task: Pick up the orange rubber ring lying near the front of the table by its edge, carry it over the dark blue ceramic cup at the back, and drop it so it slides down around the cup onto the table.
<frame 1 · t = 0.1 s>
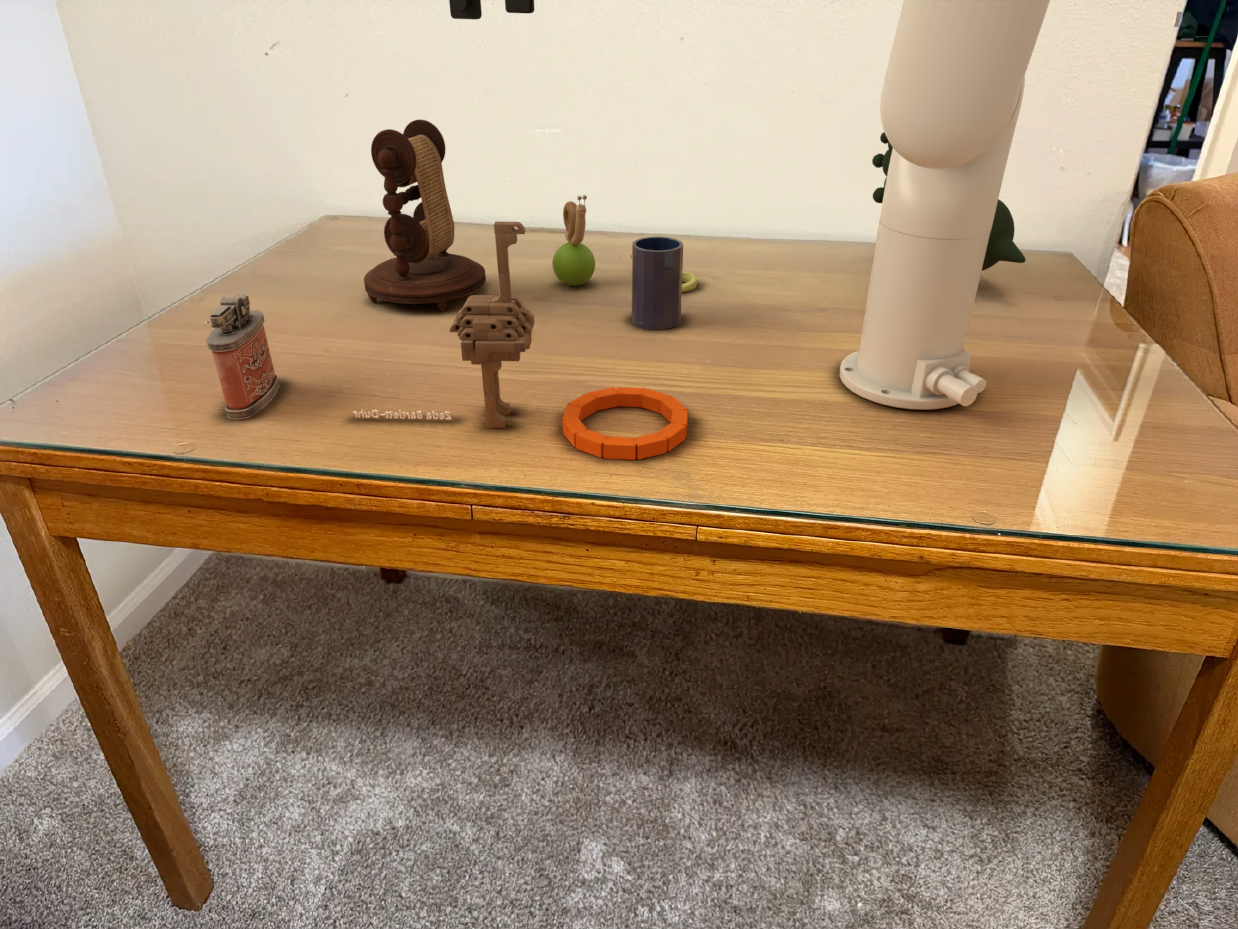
hand: (494, 15, 84), 31 cm above the table, tool pointing down, fingers open, 9 cm apart
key: (659, 281, 110), on the table
ring: (625, 428, 76), on the table
toy figurine: (920, 244, 111), point 4 cm above the table
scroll: (427, 295, 106), on the table
cup: (656, 320, 98), on the table
snail figurine: (576, 287, 108), on the table
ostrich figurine: (446, 421, 78), on the table
lighter: (254, 401, 81), on the table
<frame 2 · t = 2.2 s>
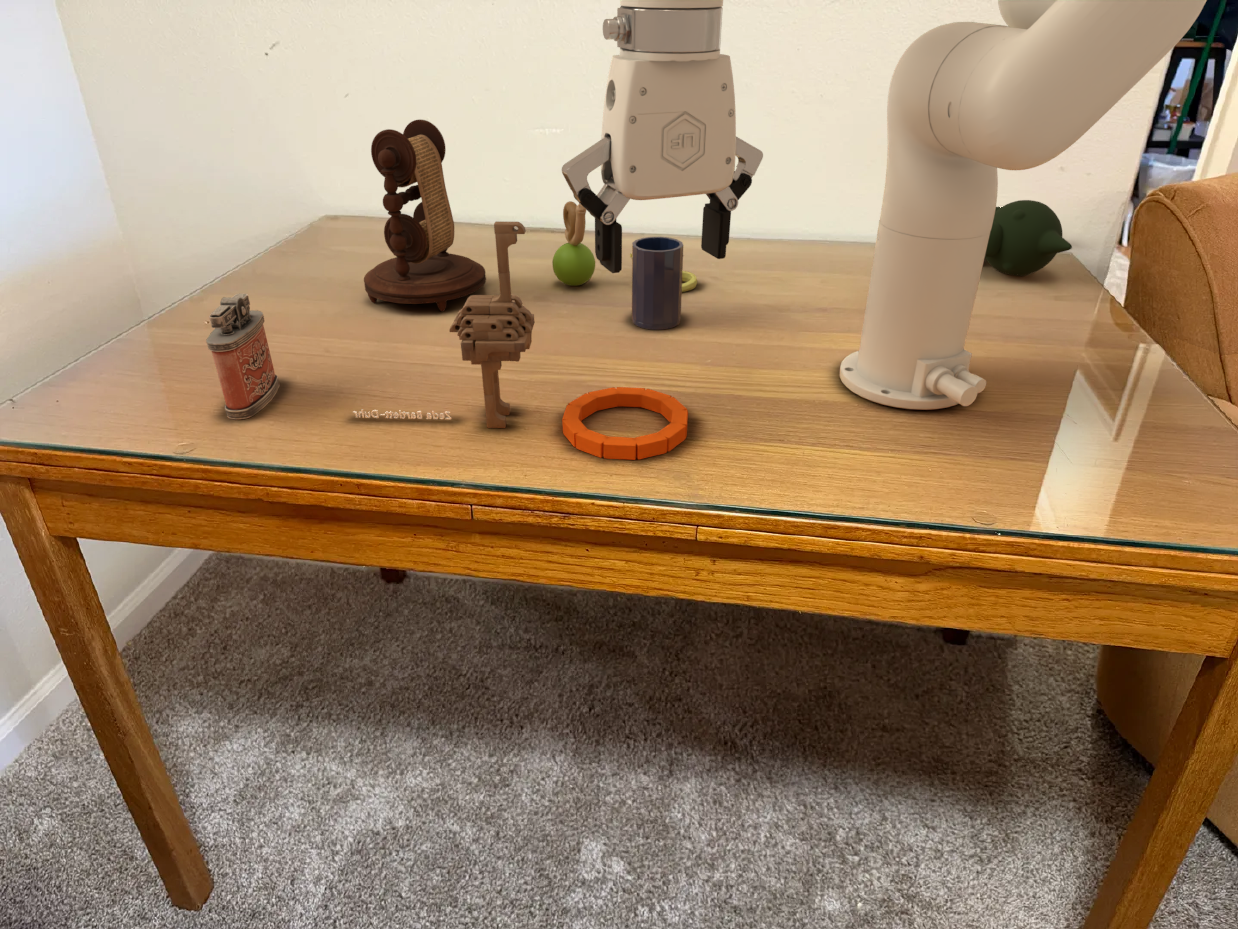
hand: (662, 261, 72), 14 cm above the table, tool pointing down, fingers open, 9 cm apart
toy figurine: (954, 232, 114), point 4 cm above the table
everything else where it was.
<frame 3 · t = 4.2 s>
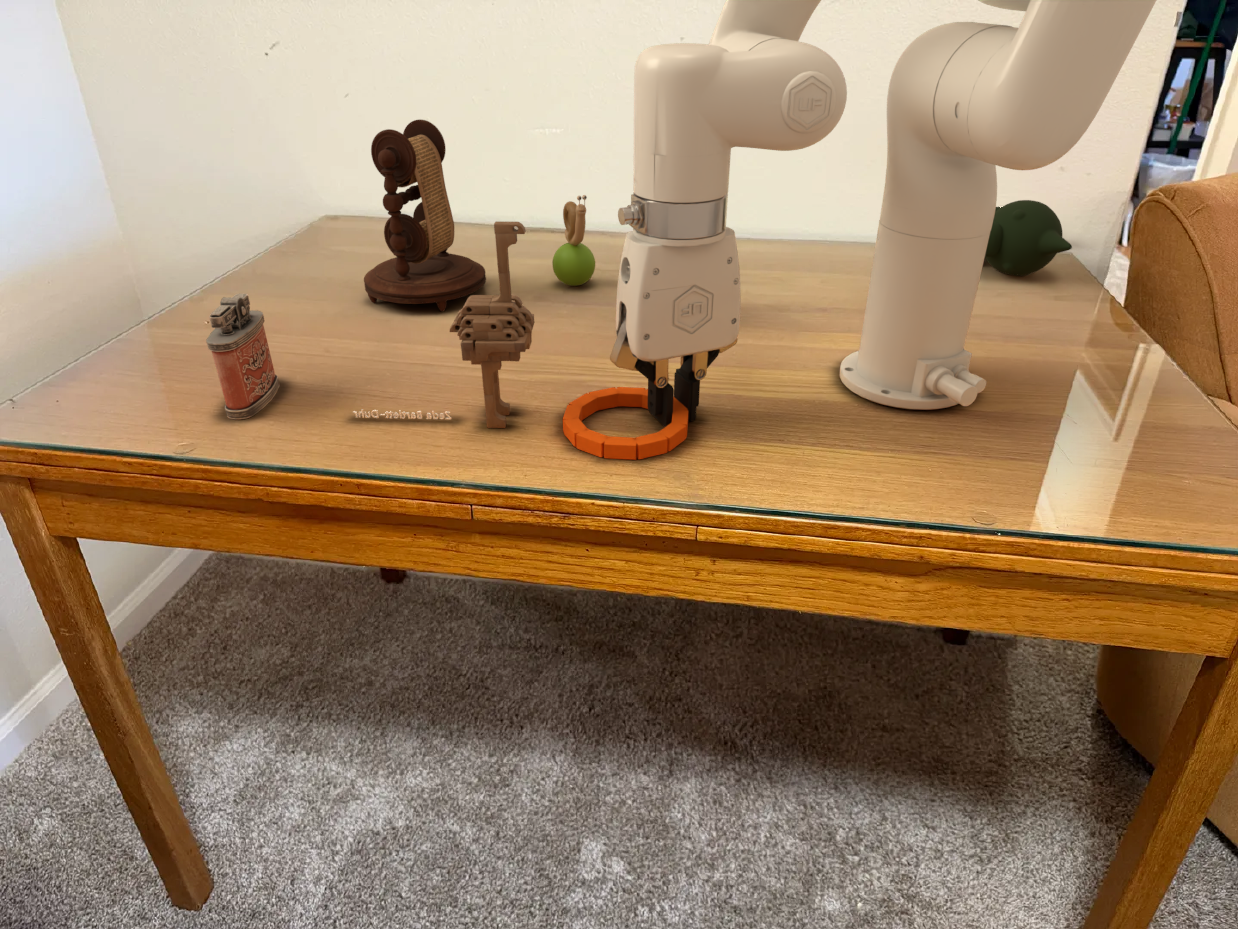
hand: (672, 416, 78), 0 cm above the table, tool pointing down, fingers closed on ring
ring: (626, 427, 76), on the table, touching gripper
everything else where it was.
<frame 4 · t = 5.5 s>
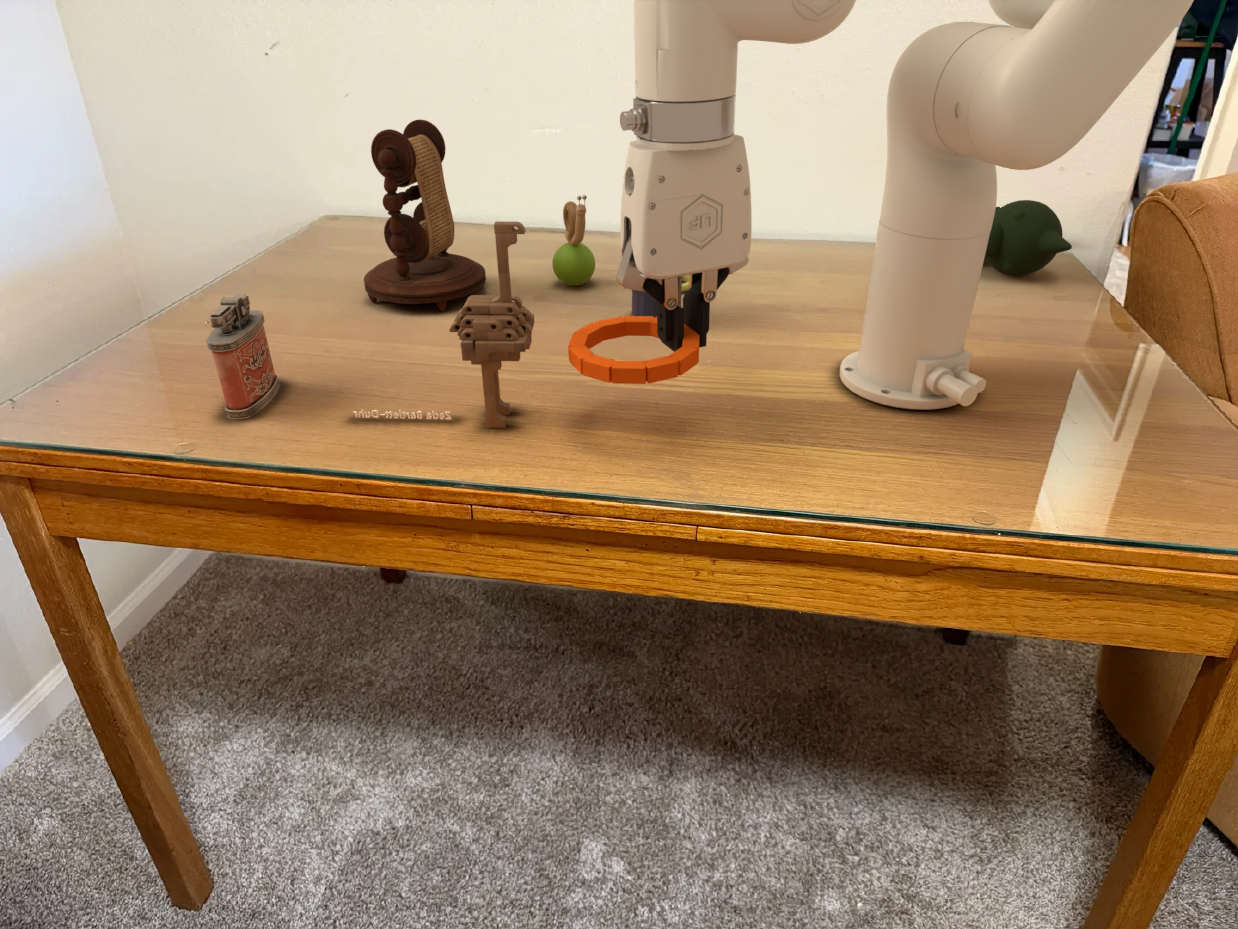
hand: (683, 343, 74), 7 cm above the table, tool pointing down, fingers closed on ring, 1 cm apart
ring: (634, 355, 73), point 7 cm above the table, touching gripper
everything else where it was.
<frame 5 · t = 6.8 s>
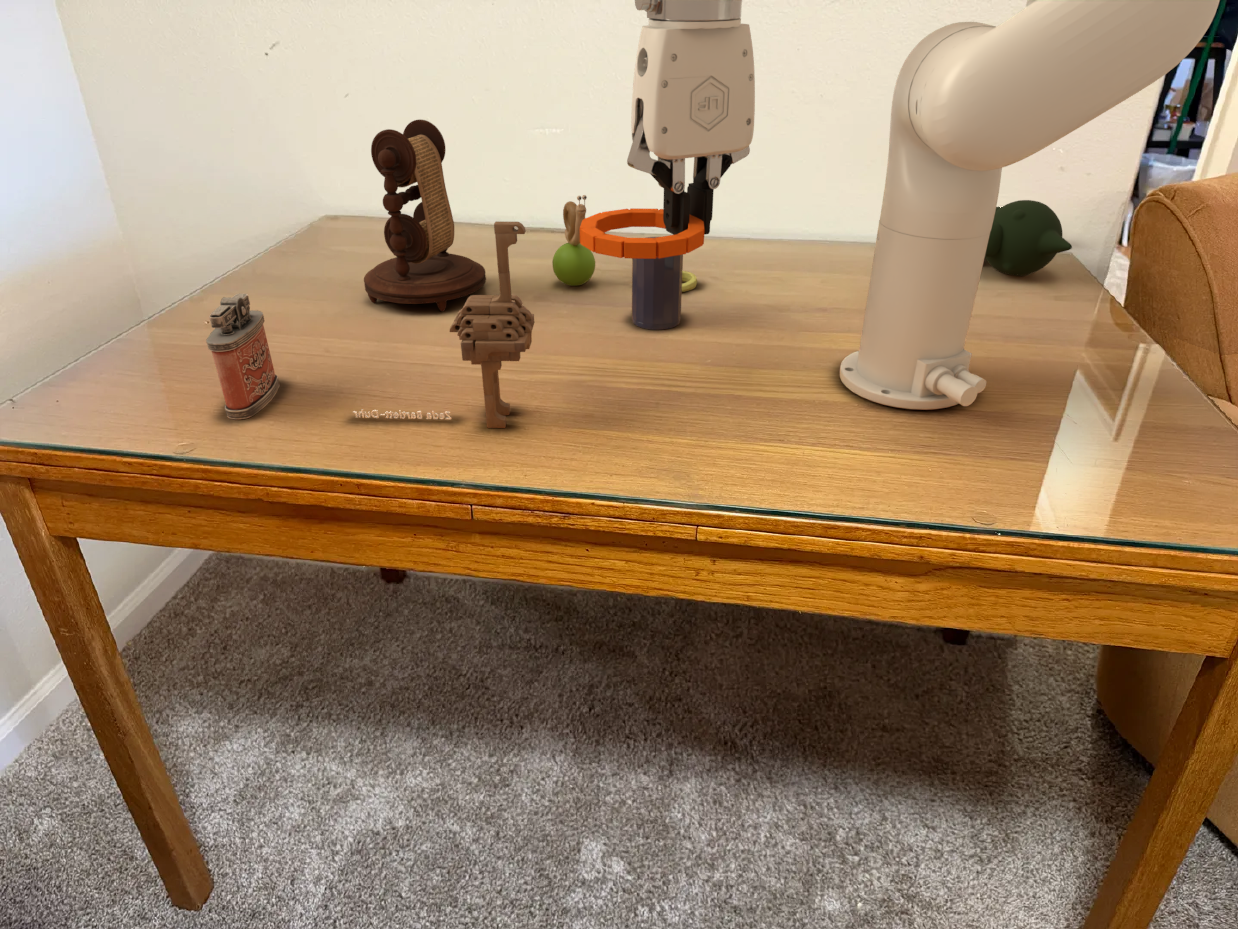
hand: (687, 231, 78), 15 cm above the table, tool pointing down, fingers closed on ring, 1 cm apart
ring: (642, 239, 76), point 14 cm above the table, touching gripper
everything else where it was.
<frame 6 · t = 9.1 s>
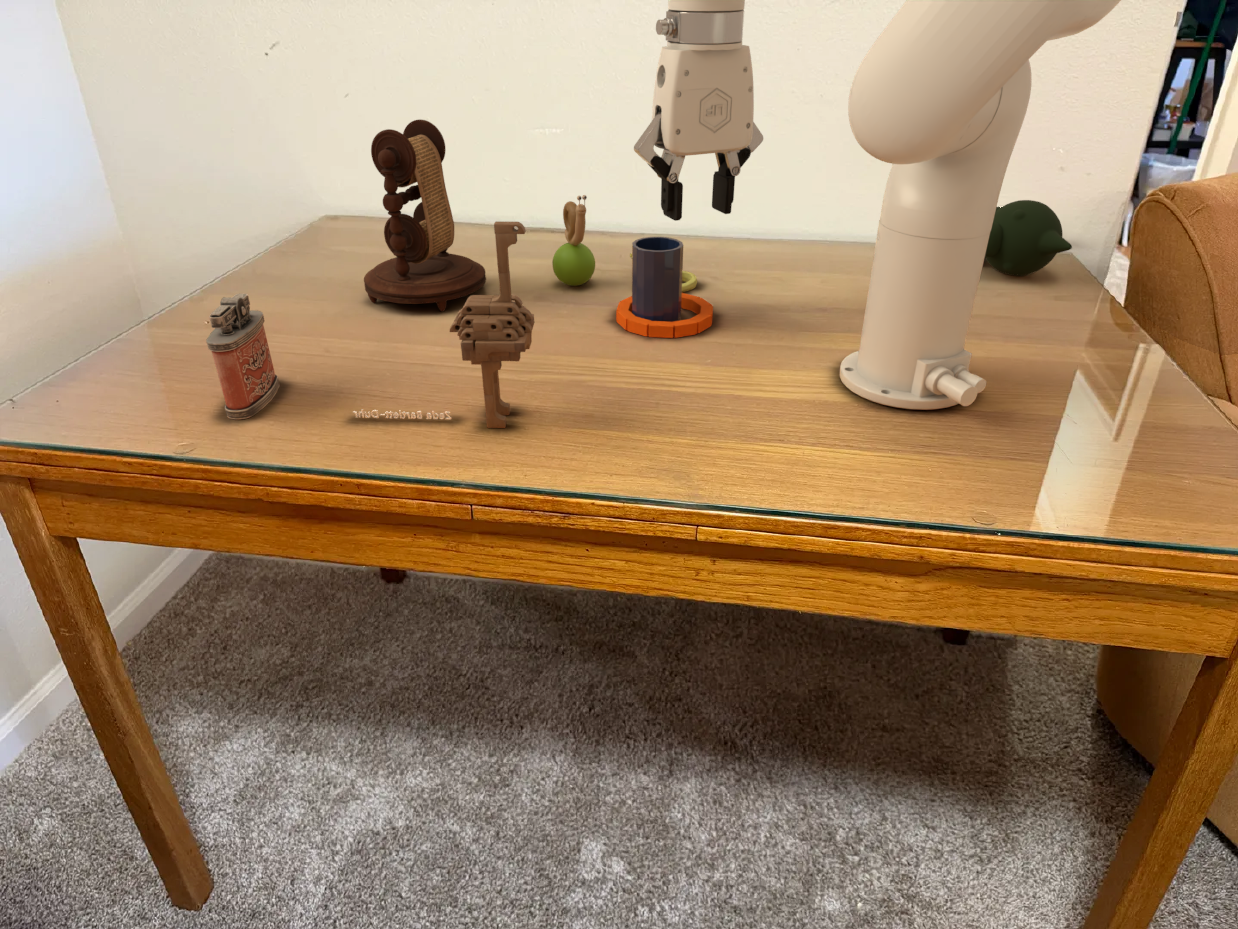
hand: (697, 212, 94), 12 cm above the table, tool pointing down, fingers open, 5 cm apart
ring: (664, 319, 98), on the table
everything else where it was.
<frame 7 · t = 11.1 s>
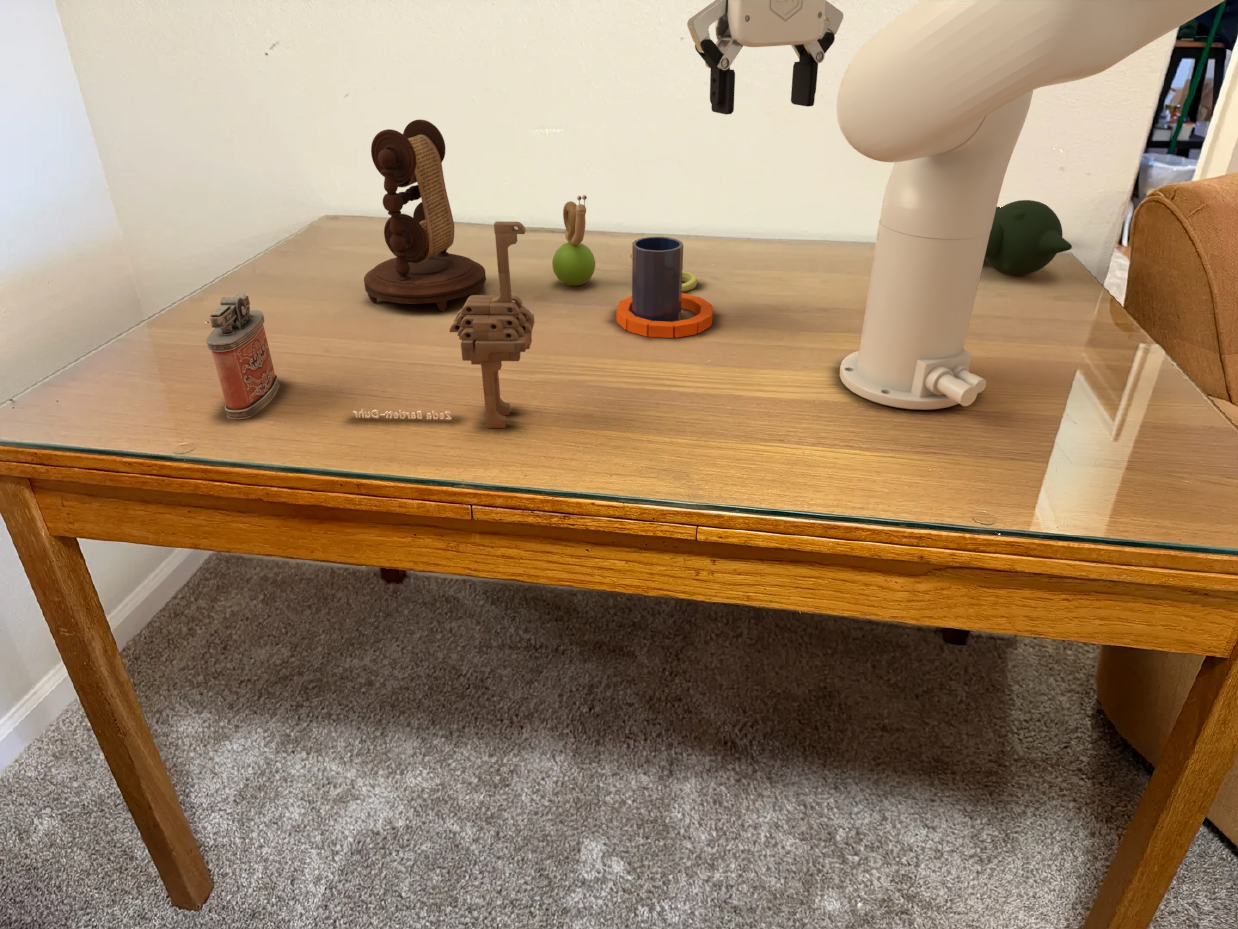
hand: (763, 108, 86), 23 cm above the table, tool pointing down, fingers open, 9 cm apart
nothing on the table moved.
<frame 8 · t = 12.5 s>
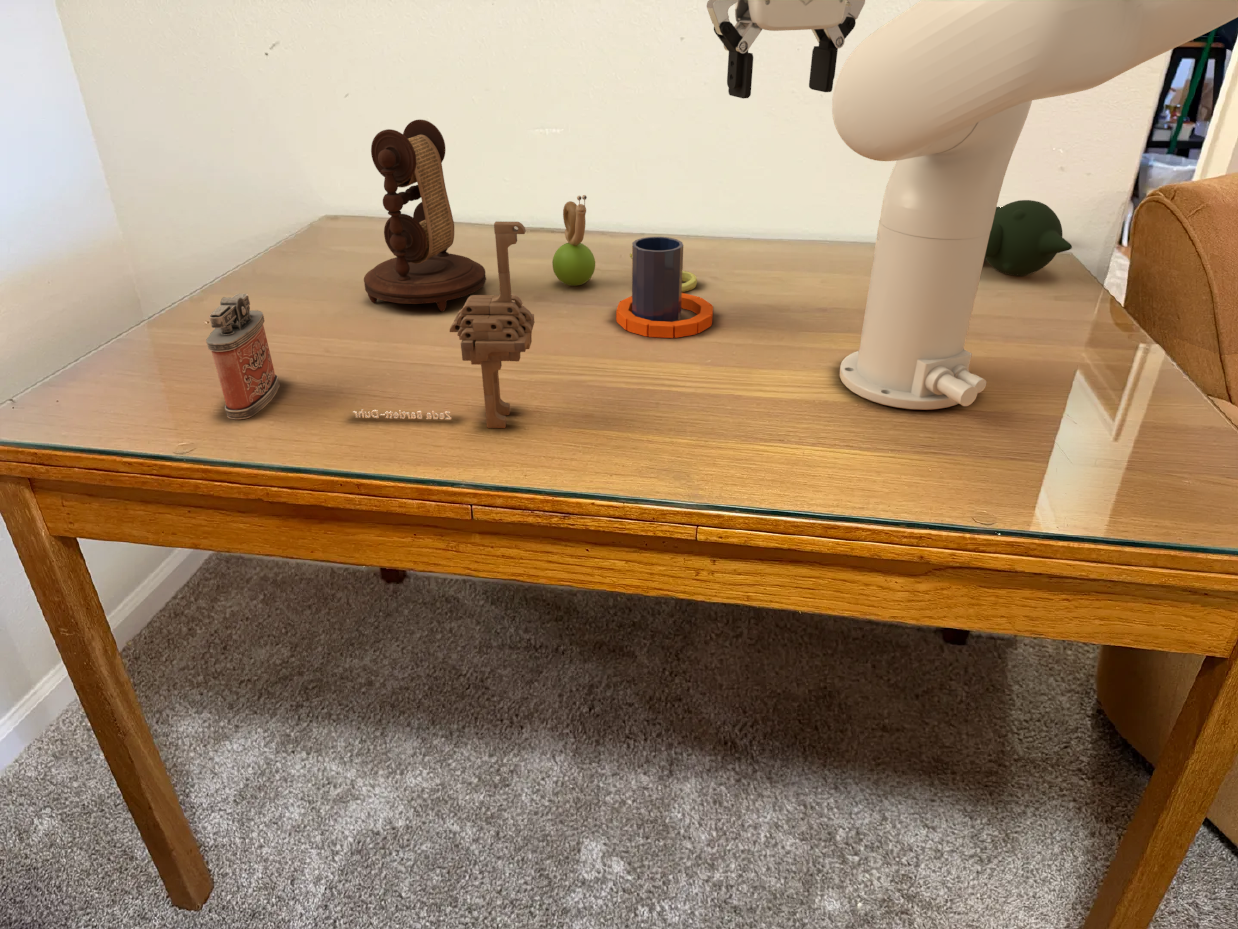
hand: (780, 93, 85), 24 cm above the table, tool pointing down, fingers open, 9 cm apart
nothing on the table moved.
at the end: ring 1.1 cm off-centre in the cup, point 0.0 cm above the cup's base; the gripper is holding nothing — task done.
